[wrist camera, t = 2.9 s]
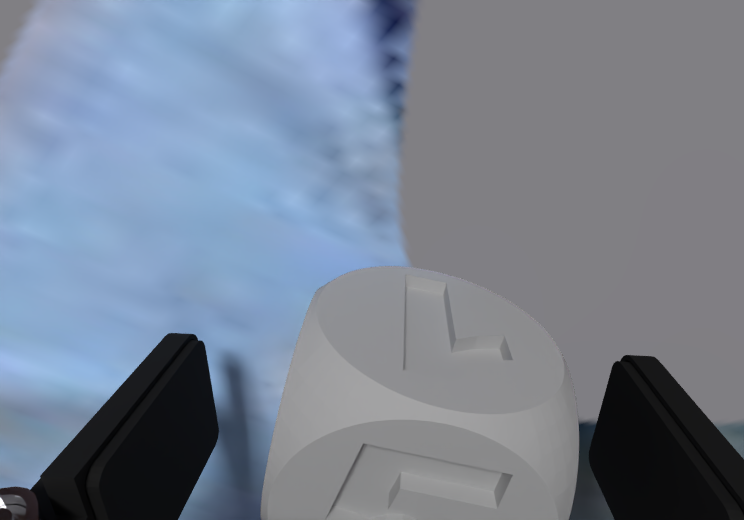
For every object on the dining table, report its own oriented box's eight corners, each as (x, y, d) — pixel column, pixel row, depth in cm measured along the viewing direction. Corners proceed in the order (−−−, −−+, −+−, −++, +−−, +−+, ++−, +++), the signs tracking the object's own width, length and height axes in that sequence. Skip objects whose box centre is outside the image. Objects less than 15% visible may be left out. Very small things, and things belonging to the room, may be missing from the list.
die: (532, 289, 11) (622, 453, 6) (474, 438, 13) (509, 643, 8) (332, 247, 11) (276, 380, 6) (305, 403, 13) (247, 589, 8)
